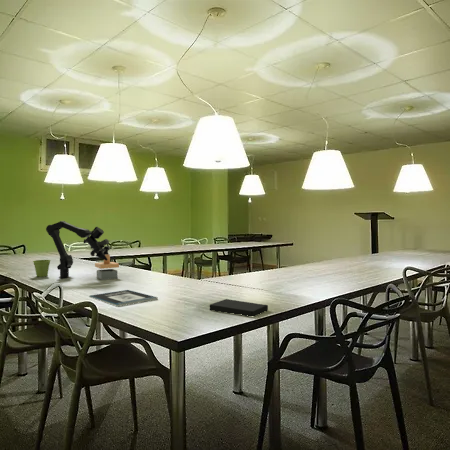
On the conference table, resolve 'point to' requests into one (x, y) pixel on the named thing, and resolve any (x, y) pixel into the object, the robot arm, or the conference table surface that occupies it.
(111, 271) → the storage box
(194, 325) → the conference table surface
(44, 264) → the plant pot
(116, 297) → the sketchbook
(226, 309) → the external hard drive
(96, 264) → the lid
